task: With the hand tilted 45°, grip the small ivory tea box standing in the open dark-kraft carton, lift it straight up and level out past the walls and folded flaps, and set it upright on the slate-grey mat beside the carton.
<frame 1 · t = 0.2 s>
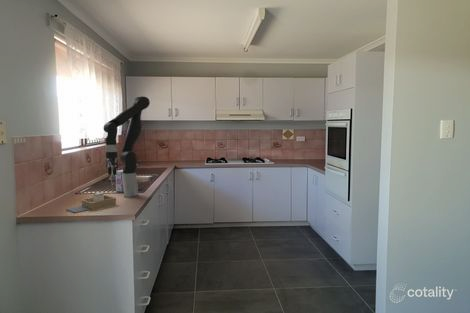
hand: (112, 174, 234), 18 cm above the countertop, tool pointing down, fingers open, 8 cm apart
tea box: (98, 199, 219), in the carton
candy box: (124, 190, 267), on the countertop
slate mat: (77, 209, 208), on the countertop
carton: (99, 205, 219), on the countertop
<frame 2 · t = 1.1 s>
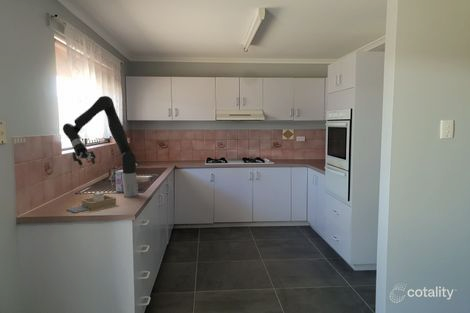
hand: (87, 164, 224), 27 cm above the countertop, tool tilted 45°, fingers open, 8 cm apart
nothing on the countertop moved.
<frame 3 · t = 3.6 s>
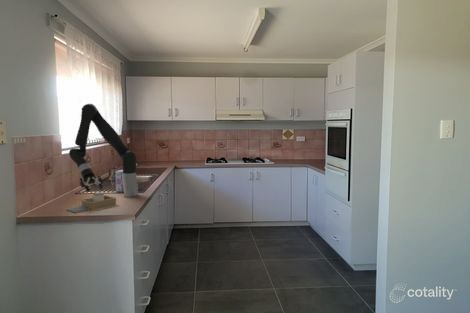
hand: (95, 190, 220), 10 cm above the countertop, tool tilted 45°, fingers open, 8 cm apart
nothing on the countertop moved.
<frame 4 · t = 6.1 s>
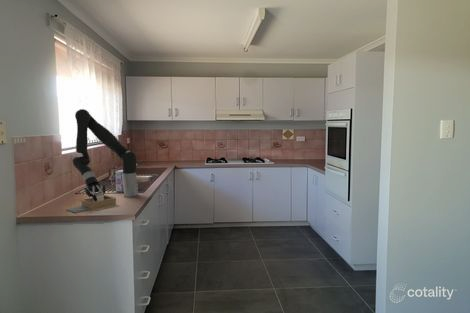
hand: (100, 199, 217), 4 cm above the countertop, tool tilted 45°, fingers closed on tea box, 4 cm apart
tea box: (98, 199, 219), in the carton, touching gripper
everything else where it was.
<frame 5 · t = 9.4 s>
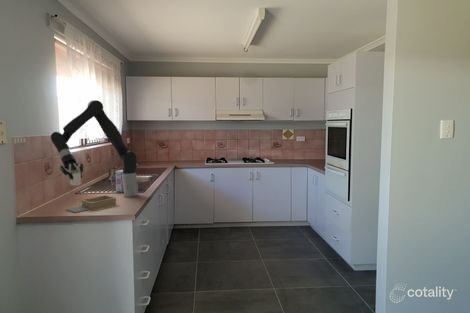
hand: (76, 178, 205), 20 cm above the countertop, tool tilted 45°, fingers closed on tea box, 4 cm apart
tea box: (75, 178, 206), point 20 cm above the countertop, touching gripper
everything else where it was.
when the fingers open (7 cm above the countertop, at t = 12.8 s): tea box drops 2 cm, resting on slate mat.
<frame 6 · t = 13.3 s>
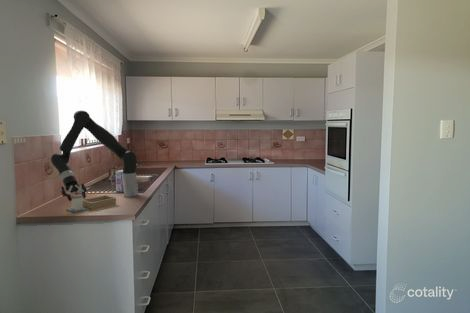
hand: (77, 199, 207), 7 cm above the countertop, tool tilted 45°, fingers open, 8 cm apart
tea box: (77, 202, 208), on the slate mat, point 5 cm above the countertop
everything else where it was.
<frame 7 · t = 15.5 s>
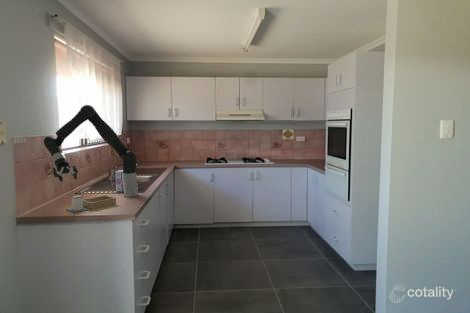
hand: (69, 180, 213), 18 cm above the countertop, tool tilted 45°, fingers open, 8 cm apart
nothing on the countertop moved.
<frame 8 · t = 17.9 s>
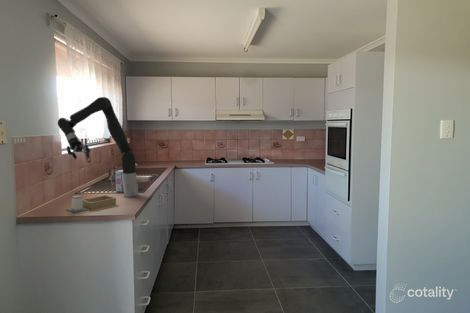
hand: (82, 157, 226), 31 cm above the countertop, tool tilted 45°, fingers open, 8 cm apart
nothing on the countertop moved.
at the end: tea box inside the target area on the slate mat (0.1 cm from its centre), point 4.6 cm above the slate mat's base; tea box tilted 0°; the gripper is holding nothing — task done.
